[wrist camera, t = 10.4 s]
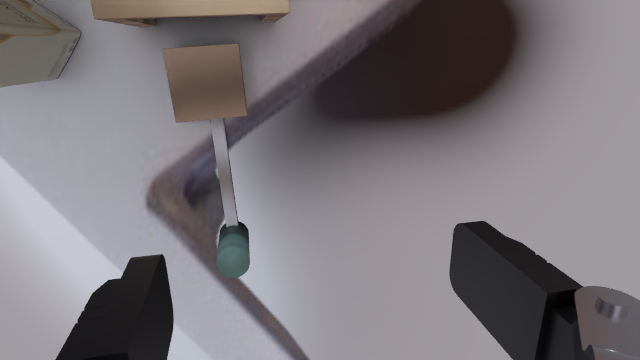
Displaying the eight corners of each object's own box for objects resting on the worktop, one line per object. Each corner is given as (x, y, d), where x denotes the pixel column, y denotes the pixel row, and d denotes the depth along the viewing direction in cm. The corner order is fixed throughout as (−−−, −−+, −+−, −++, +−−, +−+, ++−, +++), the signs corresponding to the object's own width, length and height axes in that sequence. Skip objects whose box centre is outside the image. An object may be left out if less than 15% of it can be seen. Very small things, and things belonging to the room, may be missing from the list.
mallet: (174, 48, 32) (161, 48, 27) (238, 43, 33) (238, 43, 28) (208, 250, 38) (203, 282, 33) (262, 242, 39) (266, 272, 34)
